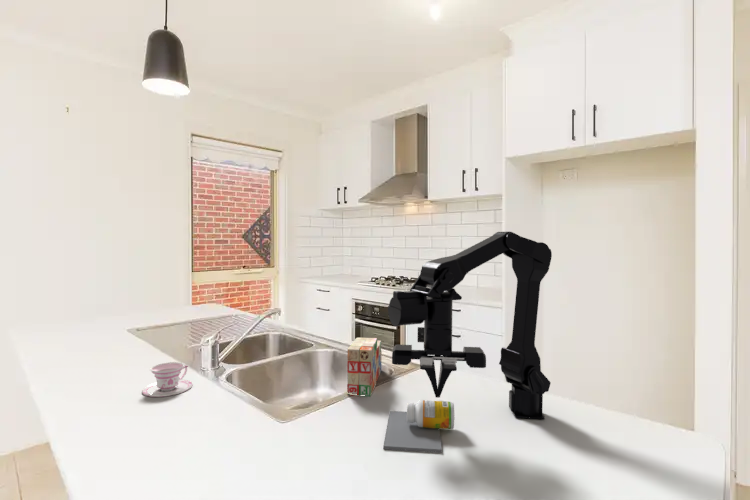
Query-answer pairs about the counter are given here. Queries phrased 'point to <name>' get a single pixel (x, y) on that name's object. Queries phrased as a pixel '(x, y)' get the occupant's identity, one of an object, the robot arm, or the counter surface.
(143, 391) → the teacup
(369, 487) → the counter surface
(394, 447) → the charcoal mat
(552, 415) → the counter surface
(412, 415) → the supplement bottle
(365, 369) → the stack of blocks
